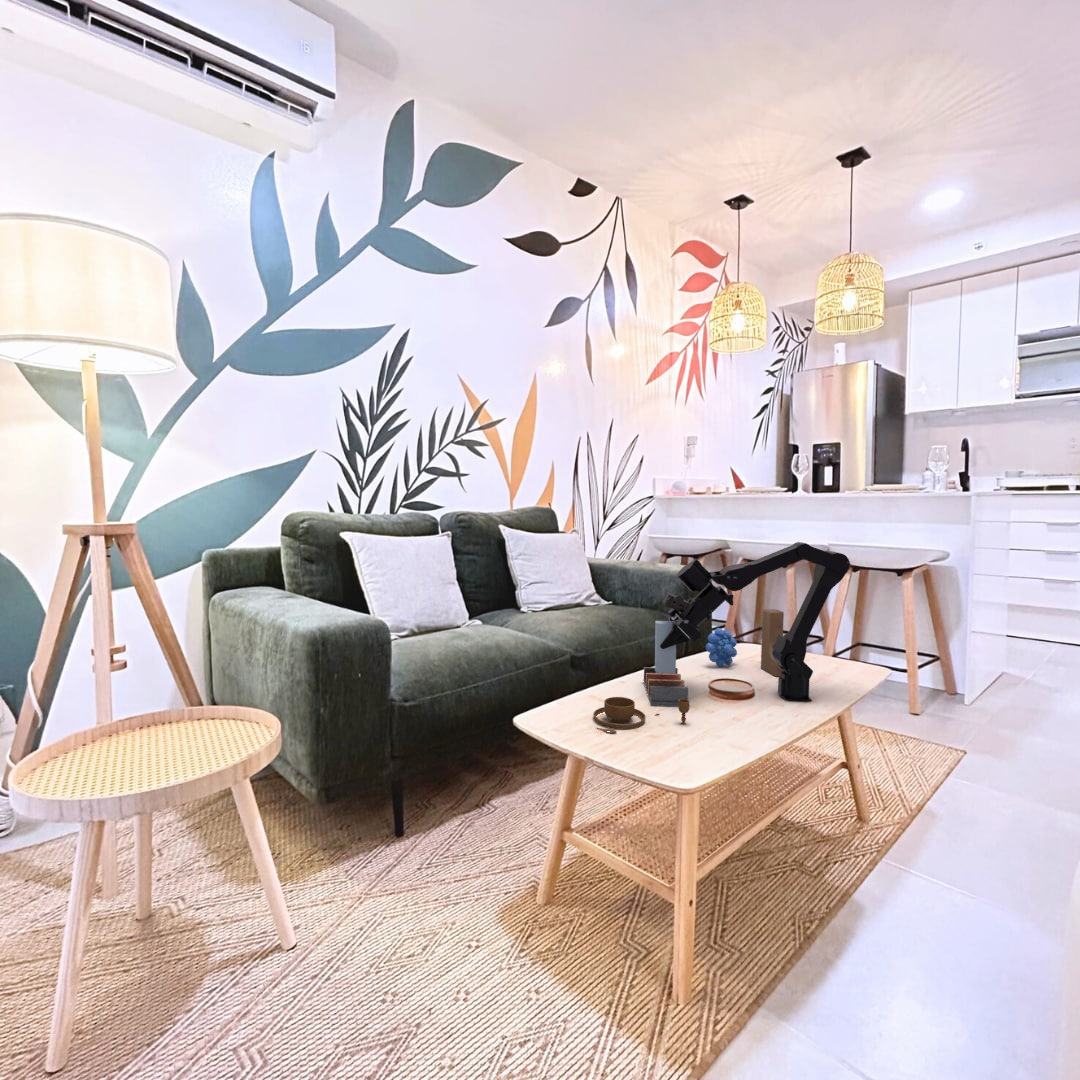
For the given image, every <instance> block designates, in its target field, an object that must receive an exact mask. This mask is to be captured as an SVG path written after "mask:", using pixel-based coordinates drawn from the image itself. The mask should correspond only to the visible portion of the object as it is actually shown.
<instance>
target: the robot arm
mask: <svg viewBox="0 0 1080 1080" xmlns="http://www.w3.org/2000/svg"><path fill="white" fill-rule="evenodd" d="M801 560H804V561H807V562H809V563H811V564H814V568H813V577H812V583H811V585H810V587H809V589H808V591H807V594H806V595H805V597H804V600H803V602H802V604H801V606H800V608H799V610H798V612H797V615H796V616H795V619H794V621H793V622H792V624H791V627H790V629H789V630H788V632H786V634H783V636H782V635H780V634H778V636H777V639H776V642H775V644H774V645H773V646H772V648H773V652H772V655H773V658H774V660H775V661H776V662H777V663H778V664H779V665H780V668H781V669H782V670H784V671H781V677H777V678H778V681H777V684H778V685H777V687H778V688H777V694H778V695H779V696H780V697H781V698H782V699H783V700H785V701H789V702H791V701H792V702H793V701H794V702H812V698H811V697H810V680H811V678H812V676H813V673H814V671H813V669H812V668H811V666H809V665H808V664H807V663H806V662H804V661H805V659H806V655H807V646H808V644H807V643H808V642H807V641H808V639H809V637H810V635H811V632H812V630H813V628H814V626H815V625H816V622H817V619H818V617H819V615H820V614H821V611H822V609H823V608H824V606H825V603H826V602H827V600H828V597H829V595H830V593H831V591H832V590H833V589H834V588H835V587H836V586H837V585H838V584H839V583H840V582H841V581H843V578H844V577H845V576H846V575H847V573H848V572H849V571H850V568H851V562H850V559H849V557H847V555H846V554H844V553H841V552H836V551H832V550H826V551H825V550H823V549H820V548H817V547H814V546H812V545H810V544H809V543H806V542H801V541H796V542H795V543H793V544H791V545H789V546H787V547H784V548H782V549H779V550H777V551H775V552H772V553H769V554H767V555H765V556H762V557H760V558H757V559H755V560H752V561H749V562H748V561H747V562H742V563H735V564H731V565H727V566H724V567H723V568H721V569H720V570H717V571H708V570H707V569H706V568H705V567H704V566H703V565H702V563H701V561H699V559H697V558H694V559H693V560H692V561H690V562H689V563H687V565H684V566H683V567H681V569H680V570H679V571H678V572H677V574H676V576H675V577H676V578H678V580H679V581H681V583H683V585H684V586H685V587H686V588H687V589H688V590H689V591H690V592H692V593H693V592H697V593H698V594H697V595H696V596H695V597H693V598H692V597H690V598H689V599H687V600H685V599H684V598H685V597H684V596H682V595H679V594H676V595H675V594H673V593H671V592H669V591H667V593H666V594H665V597H664V599H663V600H662V604H663V605H664V606H665V607H667V608H670V609H669V610H668V611H667V613H668V615H670V616H668V621H675V622H676V624H675V623H674V622H672V631H671V632H670V633H669V634H668V636H667V637H666V638H665V640H664V641H663V642H662V644H661V645H660V647H661V648H662V649H665V648H668V647H671V646H674V645H676V646H677V645H680V644H684V643H686V642H691V641H692V642H693V643H694V644H697V642H699V641H700V640H701V639H702V632H701V631H700V627H699V626H700V625H701V624H702V623H703V622H705V621H706V619H707V620H710V619H711V618H712V617H711V615H712V614H713V613H714V612H715V611H716V610H717V609H718V608H719V607H720V606H721V605H722V604H723V603H724V602H726V603H727V604H729V605H730V607H731V606H733V605H734V596H735V595H734V594H732V593H729V592H727V591H726V590H725V589H724V588H726V589H727V590H729V591H731V592H737V591H741V590H742V589H744V588H746V587H747V586H749V585H751V584H752V583H753V582H754V581H755V580H756V579H758V578H760V577H762V576H764V575H766V574H770V573H771V572H774V571H776V570H778V569H779V570H780V569H781V568H784V567H786V566H789V565H791V564H793V563H796V562H799V561H801ZM711 581H712V582H713V583H715V584H717V585H718V586H715V585H714V584H713V583H712V582H711ZM719 585H720V586H719ZM722 586H723V587H724V588H723V587H722Z"/></svg>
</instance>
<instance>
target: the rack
mask: <svg viewBox="0 0 1080 1080" xmlns="http://www.w3.org/2000/svg"><path fill="white" fill-rule="evenodd" d="M678 670H679V669H678V667H676V673H656V671H655V666H651V667H649V666H648V667H647V666H644V667H643V680H642V681H644V683H643V686H644V685H645V686H644V688H646V689H645V691H647V692H646V695H647V694H648V695H647V698H648V697H649V698H648V701H649V704H650V706H651V707H668V708H669V707H673V708H674V707H675V708H678V700H679V699H687V700H689V687H688V686H685V680H684V679H682V674H681V673H678V672H679V671H678Z"/></svg>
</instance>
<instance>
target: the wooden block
mask: <svg viewBox="0 0 1080 1080" xmlns="http://www.w3.org/2000/svg"><path fill="white" fill-rule="evenodd" d="M784 613H785V612H784V611H781V610H779V609H776V608H773V609H771V608H769V609H762V615H761V616H762V618H761V619H762V621H761V647H760V651H761V653H760V654H761V655H760V669H761V670H764V671H765V672H767V673H769V674H770V675H772V676H774V677H775V678H779V677H781V671H784V670H782V669H781V668H780V665H779V664H778V663H777V662H776V661H775V660H774V658H773V655H772V652H773V648H772V646H773V645H774V644H775V642H776V639H777V636H778V634H780V635H782V636H784V619H785V618H784Z"/></svg>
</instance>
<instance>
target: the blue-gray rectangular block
mask: <svg viewBox="0 0 1080 1080" xmlns="http://www.w3.org/2000/svg"><path fill="white" fill-rule="evenodd" d="M654 622H655V630H654V633H655V634H654V635H655V636H654V638H655V639H654V640H655V641H654V667H655V671H656V673H676V668H677V645H674V646H671V647H668V648H665V649H662V648H661V647H660V645H661V644H662V642H663V641H664V640H665V638H666V637H667V636H668V634H669V633H670V632H671V631H672V622H674V623H675V624H676V622H675V621H669V620H655V621H654Z"/></svg>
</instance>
